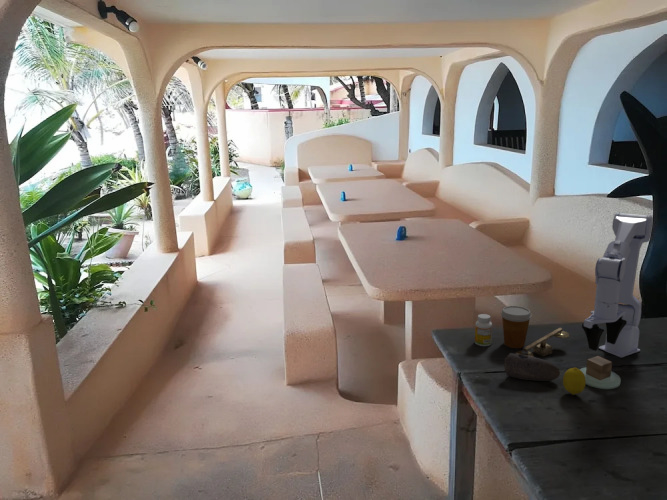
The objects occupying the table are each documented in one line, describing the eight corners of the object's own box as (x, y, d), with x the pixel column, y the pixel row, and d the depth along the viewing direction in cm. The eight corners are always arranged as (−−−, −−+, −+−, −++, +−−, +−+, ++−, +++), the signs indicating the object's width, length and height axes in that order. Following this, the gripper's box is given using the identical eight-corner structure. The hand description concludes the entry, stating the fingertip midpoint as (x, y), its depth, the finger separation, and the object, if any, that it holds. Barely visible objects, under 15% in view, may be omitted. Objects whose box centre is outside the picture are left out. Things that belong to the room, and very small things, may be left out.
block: (596, 369, 152) (597, 355, 151) (610, 376, 148) (612, 362, 147) (585, 373, 150) (587, 359, 149) (599, 380, 146) (601, 365, 145)
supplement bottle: (478, 338, 179) (479, 311, 176) (493, 342, 175) (495, 315, 173) (472, 344, 174) (473, 317, 172) (488, 348, 171) (489, 320, 169)
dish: (594, 366, 157) (594, 363, 156) (629, 382, 147) (629, 378, 147) (568, 376, 152) (569, 372, 151) (603, 392, 142) (603, 389, 142)
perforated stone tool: (558, 378, 151) (560, 356, 149) (559, 387, 146) (561, 364, 144) (504, 371, 156) (505, 349, 154) (503, 379, 151) (504, 357, 150)
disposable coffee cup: (493, 344, 174) (495, 310, 170) (508, 335, 180) (510, 303, 177) (520, 353, 167) (522, 318, 164) (534, 344, 173) (537, 310, 170)
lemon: (578, 388, 145) (580, 362, 143) (588, 399, 139) (590, 372, 137) (558, 389, 145) (560, 363, 143) (567, 400, 139) (570, 373, 137)
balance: (558, 342, 173) (560, 324, 172) (571, 348, 169) (573, 329, 167) (512, 357, 164) (513, 337, 163) (524, 363, 160) (526, 343, 158)
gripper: (610, 291, 150) (606, 335, 153) (576, 301, 144) (572, 346, 147) (634, 298, 144) (628, 344, 147) (599, 309, 138) (594, 356, 141)
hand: (602, 346), depth 147 cm, fingers open, 7 cm apart
